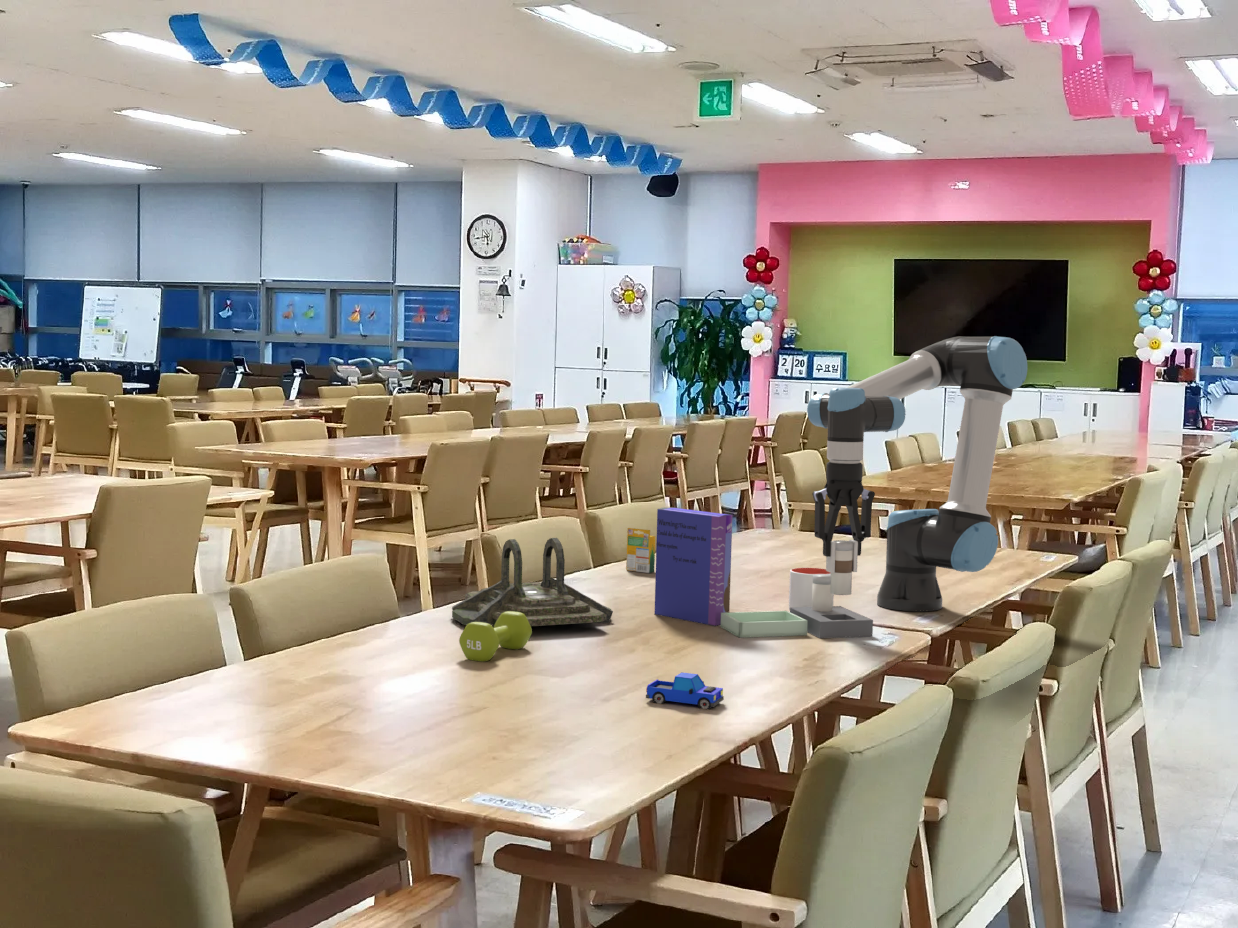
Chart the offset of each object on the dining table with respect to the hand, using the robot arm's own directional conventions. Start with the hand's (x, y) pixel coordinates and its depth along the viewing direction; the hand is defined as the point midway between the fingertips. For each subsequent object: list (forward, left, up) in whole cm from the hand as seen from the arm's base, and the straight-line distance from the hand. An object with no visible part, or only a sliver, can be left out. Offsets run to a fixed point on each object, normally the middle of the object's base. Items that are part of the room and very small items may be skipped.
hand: (841, 571), depth 291 cm
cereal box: (+26, -20, -14) cm, 36 cm away
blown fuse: (0, 0, -5) cm, 5 cm away
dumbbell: (+75, +7, -14) cm, 77 cm away
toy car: (+51, +49, -14) cm, 72 cm away
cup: (-3, -21, -14) cm, 25 cm away
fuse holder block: (0, -4, -13) cm, 14 cm away
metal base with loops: (+61, -25, -14) cm, 67 cm away
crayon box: (+18, -85, -14) cm, 88 cm away
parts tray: (+15, -5, -13) cm, 21 cm away
